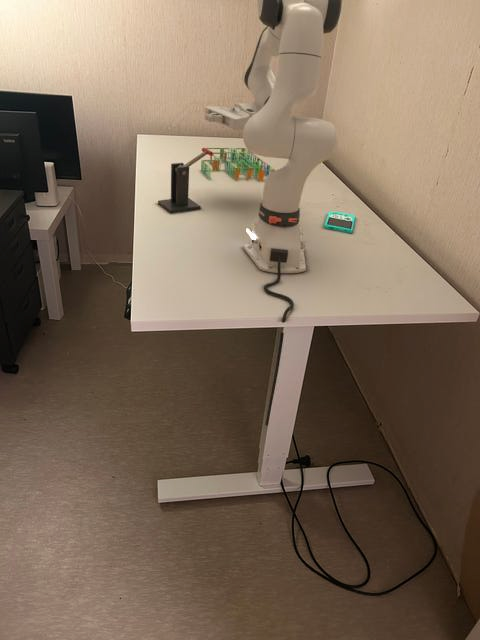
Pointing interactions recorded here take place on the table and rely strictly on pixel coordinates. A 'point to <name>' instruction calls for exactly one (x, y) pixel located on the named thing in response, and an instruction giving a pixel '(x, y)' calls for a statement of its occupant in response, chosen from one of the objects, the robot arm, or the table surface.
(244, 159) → the house model
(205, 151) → the lever
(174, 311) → the table surface
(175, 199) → the bracket
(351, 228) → the handheld game console
